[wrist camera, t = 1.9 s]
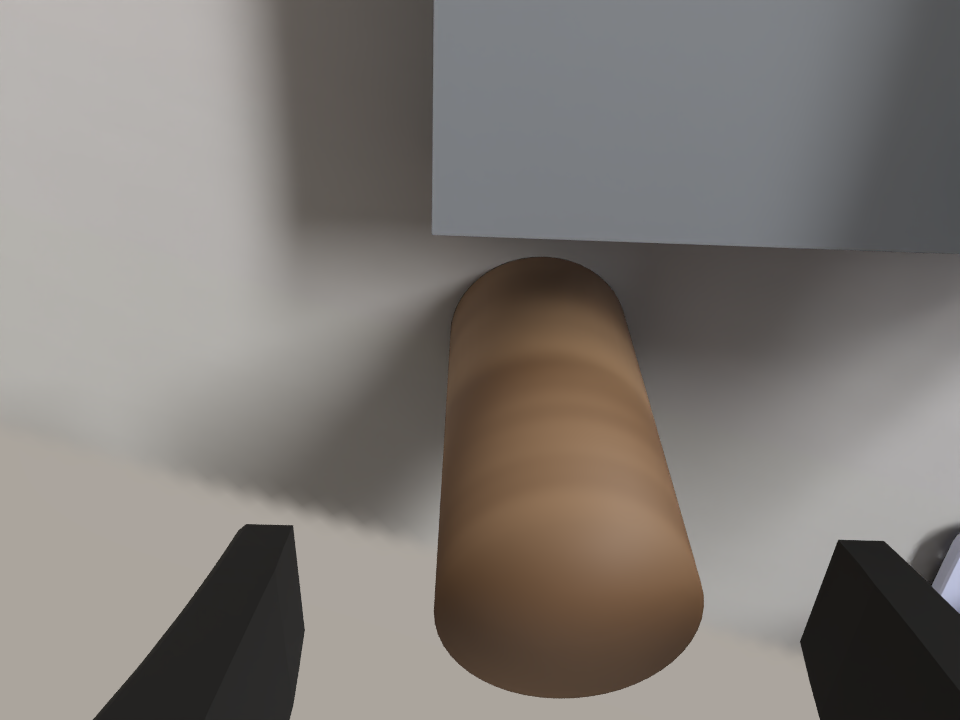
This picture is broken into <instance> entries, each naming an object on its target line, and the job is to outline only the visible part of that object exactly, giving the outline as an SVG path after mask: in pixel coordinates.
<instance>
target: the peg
mask: <svg viewBox="0 0 960 720" xmlns="http://www.w3.org/2000/svg"><path fill="white" fill-rule="evenodd" d="M703 608H704V595H703V590H702V586H701V581H700V578H699V575H698V571H697V568H696V564H695V561H694V557H693V554H692V550H691V547H690V543H689V540H688V536H687V533H686V529H685V526H684V522H683V519H682V515H681V512H680V508H679V505H678V501H677V498H676V494H675V491H674V487H673V484H672V480H671V477H670V473H669V470H668V466H667V463H666V459H665V456H664V452H663V449H662V445H661V442H660V438H659V435H658V431H657V428H656V424H655V421H654V417H653V414H652V410H651V407H650V403H649V400H648V396H647V393H646V389H645V386H644V382H643V379H642V375H641V372H640V368H639V365H638V361H637V358H636V354H635V351H634V347H633V344H632V340H631V337H630V333H629V330H628V326H627V323H626V319H625V316H624V312H623V309H622V307H621V304H620V302H619V300H618V298H617V296H616V295H615V293H614V291H613V290H612V289H611V288H610V286H609V285H608V284H607V283H606V282H605V281H604V280H603V279H602V278H601V277H600V276H598V275H597V274H595V273H594V272H592V271H591V270H589V269H587V268H585V267H583V266H581V265H579V264H577V263H574V262H571V261H568V260H563V259H559V258H551V257H531V258H524V259H519V260H515V261H511V262H508V263H506V264H503V265H501V266H498V267H496V268H494V269H493V270H491V271H489V272H487V273H486V274H485V275H483V276H482V277H480V278H479V279H478V280H477V281H476V282H475V283H474V284H473V285H471V286H470V288H469V289H468V290H467V291H466V293H465V294H464V295H463V297H462V298H461V300H460V302H459V303H458V305H457V308H456V310H455V312H454V316H453V319H452V323H451V334H450V350H449V367H448V384H447V401H446V417H445V434H444V451H443V468H442V484H441V501H440V518H439V535H438V551H437V568H436V585H435V602H434V618H435V625H436V629H437V632H438V635H439V637H440V639H441V641H442V644H443V646H444V647H445V648H446V650H447V651H448V652H449V654H450V655H451V656H452V657H453V658H454V659H455V661H456V662H458V664H459V665H461V666H462V667H463V668H464V669H466V670H467V671H468V672H470V673H471V674H473V675H474V676H476V677H478V678H479V679H481V680H483V681H485V682H487V683H489V684H492V685H494V686H496V687H499V688H502V689H504V690H507V691H510V692H515V693H519V694H523V695H528V696H535V697H543V698H580V697H589V696H595V695H600V694H606V693H609V692H613V691H617V690H620V689H623V688H626V687H629V686H631V685H634V684H636V683H638V682H641V681H643V680H645V679H647V678H649V677H651V676H652V675H654V674H656V673H657V672H659V671H661V670H662V669H663V668H665V667H666V666H668V665H669V664H670V663H671V662H673V661H674V660H675V659H676V658H677V657H678V656H679V655H680V654H681V653H682V652H683V651H684V650H685V648H686V647H687V646H688V645H689V643H690V642H691V641H692V639H693V637H694V635H695V634H696V632H697V630H698V627H699V625H700V622H701V619H702V614H703Z"/></svg>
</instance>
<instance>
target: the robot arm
mask: <svg viewBox="0 0 960 720" xmlns="http://www.w3.org/2000/svg"><path fill="white" fill-rule="evenodd" d="M304 631H305V629H304V621H303V612H302V602H301V593H300V584H299V575H298V567H297V558H296V549H295V540H294V531H293V525H256V524H246V525H245V526H243V527H242V528H241V529H240V530H239V531H238V532H237V534H236V535H235V537H234V538H233V540H232V541H231V543H230V544H229V546H228V547H227V549H226V550H225V552H224V553H223V555H222V556H221V558H220V559H219V560H218V562H217V563H216V565H215V566H214V568H213V569H212V571H211V572H210V573H209V575H208V576H207V578H206V579H205V580H204V582H203V584H202V585H201V586H200V587H199V589H198V590H197V592H196V593H195V594H194V596H193V597H192V598H191V600H190V601H189V603H188V604H187V605H186V607H185V608H184V609H183V611H182V612H181V613H180V614H179V616H178V617H177V618H176V620H175V621H174V622H173V624H172V625H171V626H170V627H169V629H168V630H167V631H166V633H165V634H164V635H163V636H162V638H161V639H160V640H159V641H158V643H157V644H156V645H155V647H154V648H153V649H152V650H151V652H150V653H149V654H148V655H147V657H146V658H145V659H144V661H143V662H142V663H141V664H140V665H139V667H138V668H137V669H136V670H135V671H134V673H133V674H132V675H131V676H130V677H129V678H128V680H127V681H126V682H125V683H124V684H123V685H122V686H121V688H120V689H119V690H118V691H117V692H116V693H115V695H114V696H113V697H112V698H111V699H110V700H109V702H108V703H107V704H106V705H105V706H104V707H103V709H102V710H101V711H100V712H99V713H98V714H97V716H96V717H95V718H94V719H93V720H289V719H290V715H291V711H292V708H293V703H294V697H295V691H296V684H297V678H298V672H299V665H300V658H301V651H302V644H303V638H304ZM800 643H801V647H802V651H803V656H804V660H805V664H806V668H807V672H808V676H809V681H810V684H811V688H812V692H813V696H814V699H815V703H816V707H817V710H818V714H819V717H820V720H960V533H959V534H958V535H957V536H956V538H955V539H954V540H953V542H952V544H951V546H950V548H949V550H948V552H947V555H946V557H945V559H944V561H943V563H942V565H941V567H940V569H939V571H938V573H937V576H936V578H935V580H934V582H933V584H932V586H931V585H930V584H929V583H927V582H926V581H925V580H924V579H923V578H922V577H921V576H920V575H919V574H918V573H917V572H916V571H915V570H914V569H913V568H912V567H911V566H910V565H909V564H908V563H907V562H906V561H905V560H904V559H903V558H902V557H900V556H899V555H898V554H897V553H896V552H895V551H894V550H893V549H892V548H891V547H890V546H889V545H888V544H886V543H885V542H884V541H861V540H838V542H837V545H836V547H835V550H834V553H833V555H832V558H831V561H830V563H829V566H828V569H827V571H826V574H825V577H824V579H823V582H822V585H821V587H820V590H819V593H818V595H817V598H816V601H815V603H814V606H813V609H812V611H811V614H810V617H809V619H808V622H807V625H806V627H805V630H804V633H803V635H802V638H801V641H800Z"/></svg>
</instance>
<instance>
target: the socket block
mask: <svg viewBox="0 0 960 720" xmlns="http://www.w3.org/2000/svg"><path fill="white" fill-rule="evenodd" d="M432 235H449V236H476V237H503V238H531V239H558V240H586V241H613V242H641V243H668V244H695V245H723V246H750V247H778V248H805V249H832V250H860V251H887V252H915V253H942V254H960V0H434V30H433V149H432Z"/></svg>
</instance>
